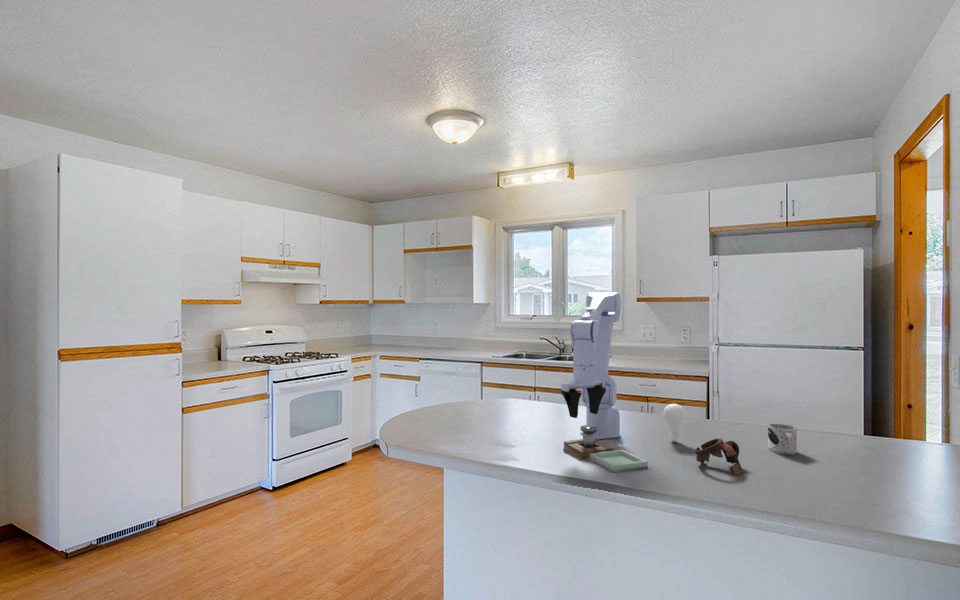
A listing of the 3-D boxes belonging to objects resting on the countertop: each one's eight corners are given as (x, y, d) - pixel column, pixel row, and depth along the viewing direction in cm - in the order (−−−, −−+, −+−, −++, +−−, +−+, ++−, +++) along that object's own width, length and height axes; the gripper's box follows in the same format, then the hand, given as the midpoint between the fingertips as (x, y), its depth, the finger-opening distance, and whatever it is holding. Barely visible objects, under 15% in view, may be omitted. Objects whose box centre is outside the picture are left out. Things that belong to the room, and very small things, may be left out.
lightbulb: (662, 443, 139) (663, 405, 139) (663, 438, 145) (663, 401, 145) (686, 446, 137) (686, 407, 137) (685, 440, 143) (685, 402, 143)
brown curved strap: (733, 481, 112) (713, 448, 114) (701, 487, 119) (683, 455, 121) (758, 458, 118) (739, 427, 120) (726, 465, 126) (708, 435, 128)
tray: (622, 455, 128) (622, 449, 128) (647, 467, 119) (647, 461, 119) (589, 459, 125) (589, 453, 125) (613, 472, 116) (613, 466, 116)
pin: (591, 449, 134) (591, 424, 134) (600, 454, 129) (600, 428, 129) (577, 451, 132) (577, 426, 132) (586, 456, 128) (586, 430, 128)
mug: (764, 446, 137) (764, 422, 137) (790, 448, 136) (790, 424, 136) (778, 457, 127) (778, 432, 127) (806, 459, 126) (806, 433, 126)
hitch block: (594, 445, 137) (594, 437, 137) (614, 455, 128) (614, 446, 128) (563, 449, 133) (563, 441, 133) (581, 459, 125) (581, 450, 125)
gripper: (591, 361, 138) (591, 409, 138) (553, 365, 130) (553, 415, 130) (611, 364, 133) (610, 414, 133) (572, 368, 125) (572, 421, 125)
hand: (583, 415), depth 131 cm, fingers open, 7 cm apart
